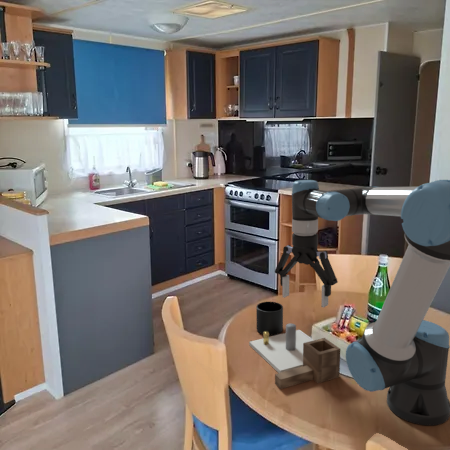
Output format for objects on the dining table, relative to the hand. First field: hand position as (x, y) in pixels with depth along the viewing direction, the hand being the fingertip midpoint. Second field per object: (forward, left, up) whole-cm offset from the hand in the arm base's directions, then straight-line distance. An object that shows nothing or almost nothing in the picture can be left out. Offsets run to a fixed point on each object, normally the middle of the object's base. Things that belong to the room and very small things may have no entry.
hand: (304, 301), depth 135 cm
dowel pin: (+13, +6, -19) cm, 23 cm away
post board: (+6, +1, -20) cm, 21 cm away
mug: (+24, -1, -20) cm, 31 cm away
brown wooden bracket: (-9, +5, -20) cm, 22 cm away
